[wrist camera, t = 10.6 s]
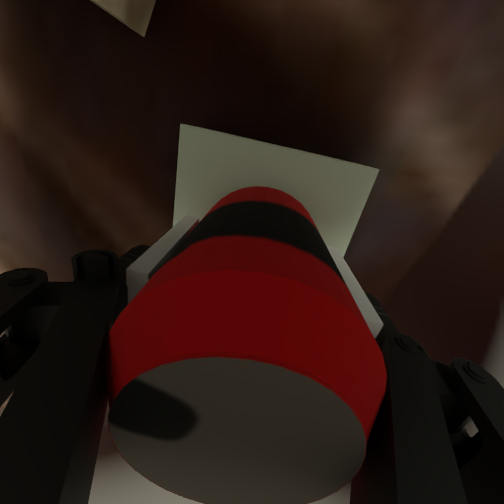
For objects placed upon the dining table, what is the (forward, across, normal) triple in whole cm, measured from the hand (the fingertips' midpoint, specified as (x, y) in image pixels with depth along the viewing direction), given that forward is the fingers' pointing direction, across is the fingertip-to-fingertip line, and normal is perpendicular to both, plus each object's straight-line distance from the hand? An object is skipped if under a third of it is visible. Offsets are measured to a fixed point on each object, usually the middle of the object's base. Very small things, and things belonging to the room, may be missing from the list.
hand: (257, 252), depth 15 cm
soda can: (+2, 0, 0) cm, 2 cm away
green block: (+7, 0, 0) cm, 7 cm away
